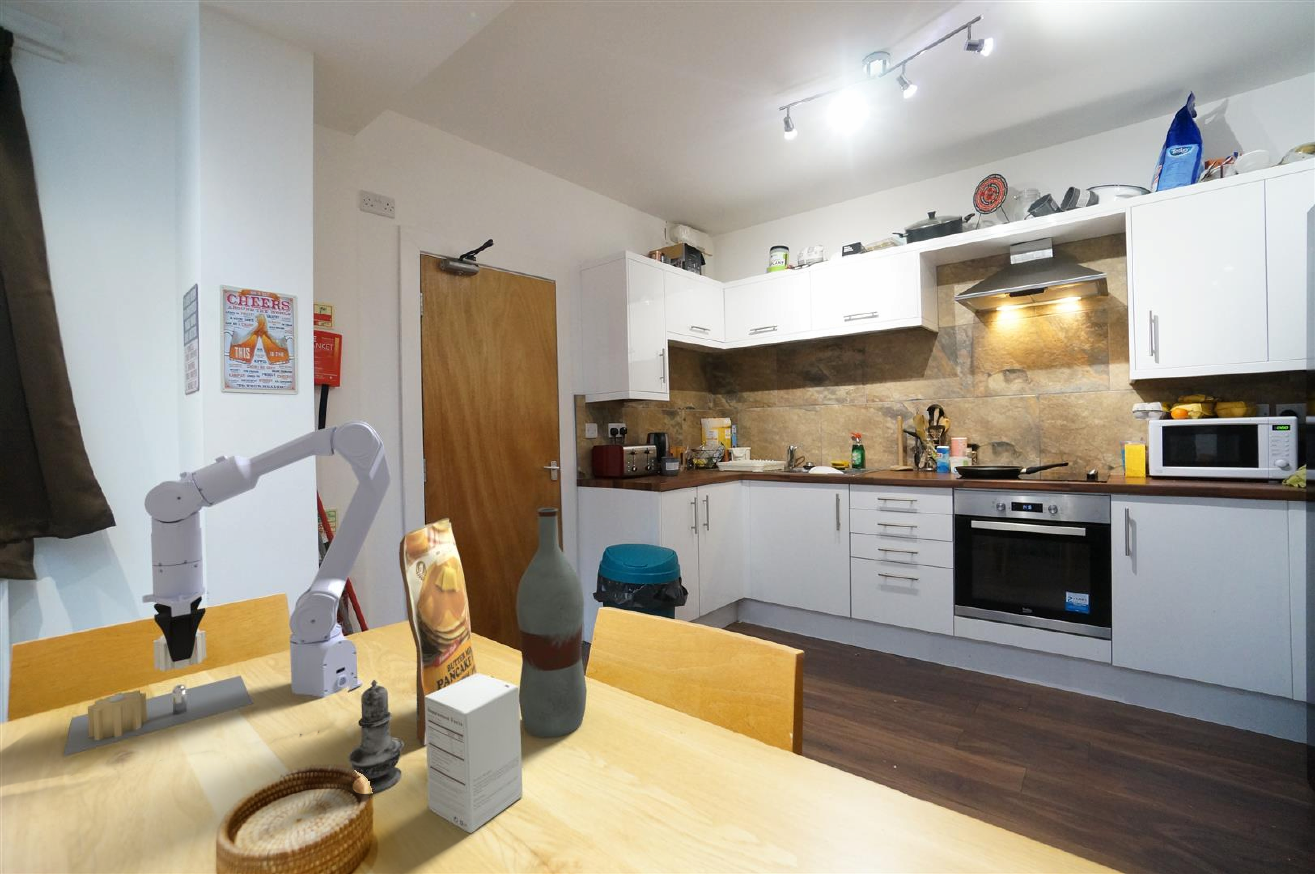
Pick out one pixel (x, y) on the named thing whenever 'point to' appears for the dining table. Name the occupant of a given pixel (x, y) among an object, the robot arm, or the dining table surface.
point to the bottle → (551, 638)
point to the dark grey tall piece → (377, 742)
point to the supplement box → (473, 750)
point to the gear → (165, 662)
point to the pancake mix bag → (436, 611)
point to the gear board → (150, 713)
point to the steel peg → (179, 699)
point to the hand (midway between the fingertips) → (180, 653)
